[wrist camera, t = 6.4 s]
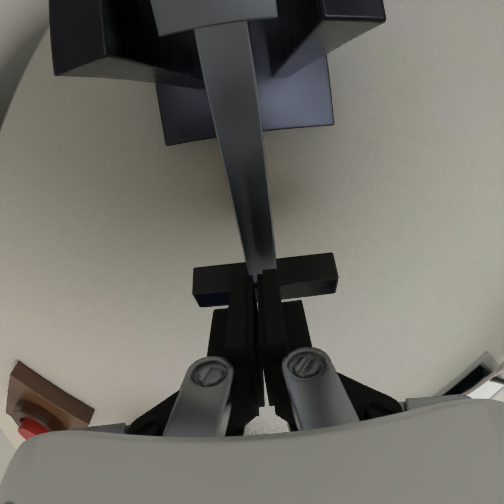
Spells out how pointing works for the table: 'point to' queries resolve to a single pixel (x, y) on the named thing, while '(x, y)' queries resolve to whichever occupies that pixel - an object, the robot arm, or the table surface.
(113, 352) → the table surface
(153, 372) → the table surface
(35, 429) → the button
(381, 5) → the bracket
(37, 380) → the button box
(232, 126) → the lever
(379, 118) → the table surface
